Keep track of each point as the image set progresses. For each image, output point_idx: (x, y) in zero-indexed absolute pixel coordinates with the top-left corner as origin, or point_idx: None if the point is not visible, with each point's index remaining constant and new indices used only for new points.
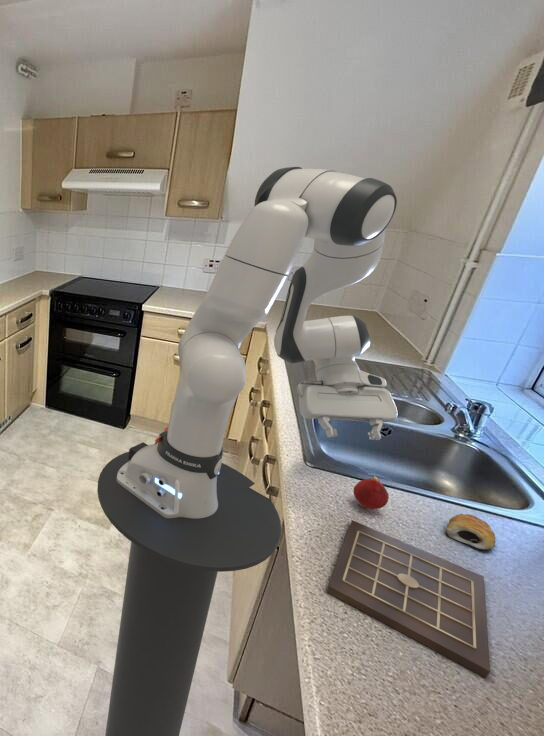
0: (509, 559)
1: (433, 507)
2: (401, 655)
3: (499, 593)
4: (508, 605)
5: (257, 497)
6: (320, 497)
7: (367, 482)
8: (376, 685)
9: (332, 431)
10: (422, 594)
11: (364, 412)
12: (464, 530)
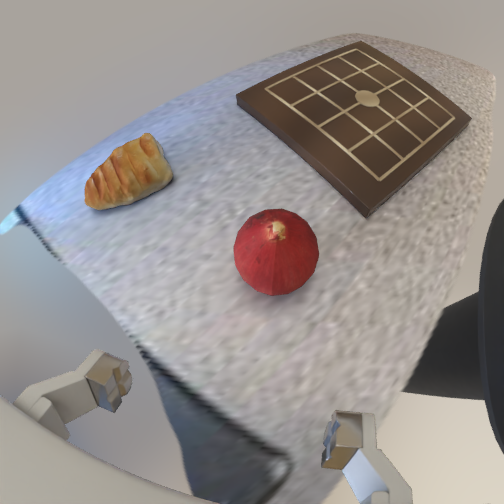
0: (134, 138)
1: (105, 255)
2: (423, 71)
3: (230, 93)
4: (240, 82)
5: (502, 319)
6: (368, 317)
7: (297, 241)
8: (454, 68)
9: (367, 429)
10: (362, 85)
11: (73, 477)
12: (159, 151)
